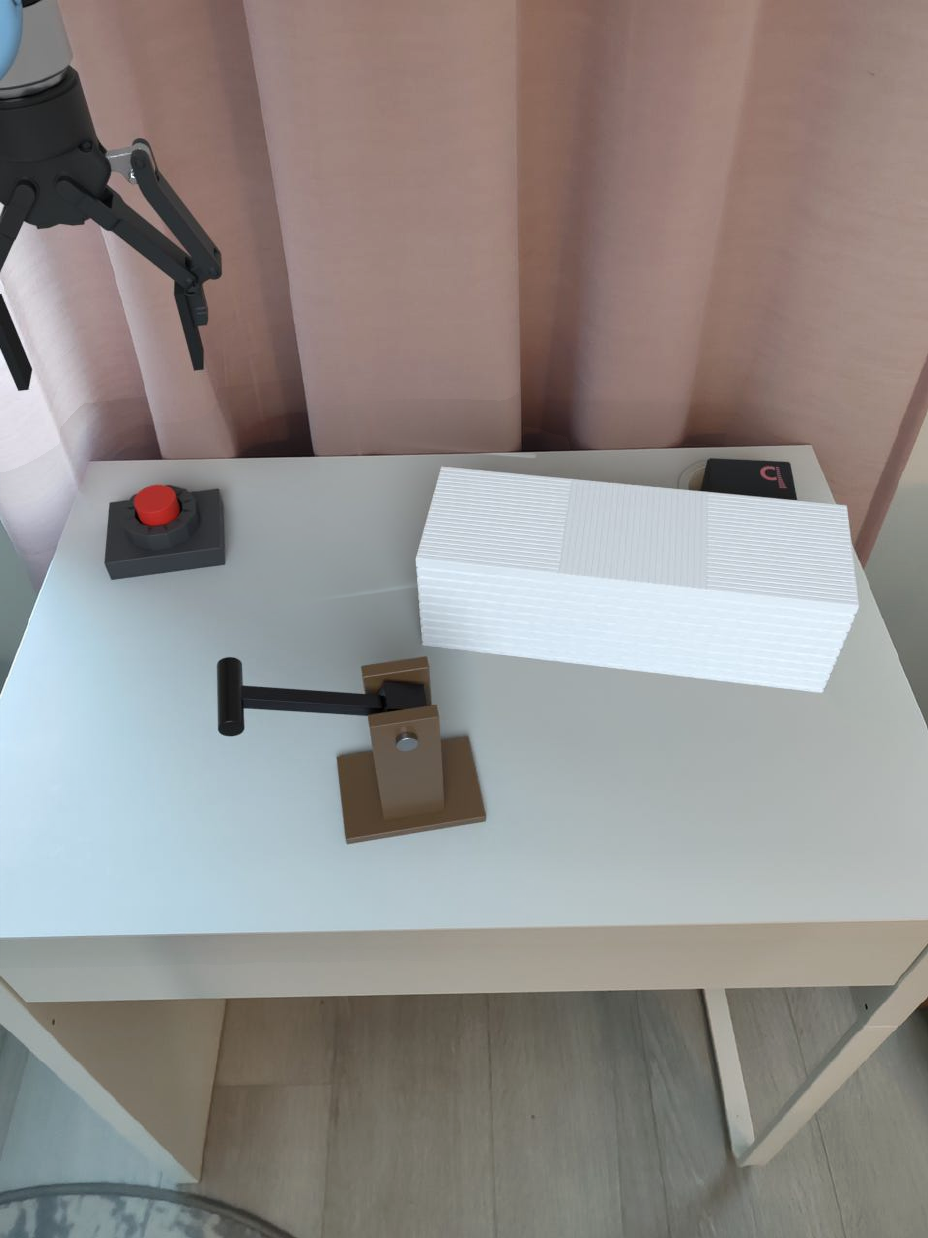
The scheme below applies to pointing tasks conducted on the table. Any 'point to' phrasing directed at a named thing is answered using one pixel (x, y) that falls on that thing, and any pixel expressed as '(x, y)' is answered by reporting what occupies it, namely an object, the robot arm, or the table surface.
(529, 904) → the table surface
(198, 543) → the control block
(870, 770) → the table surface
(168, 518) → the button
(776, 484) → the electronic device
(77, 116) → the robot arm
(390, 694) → the lever
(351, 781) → the bracket
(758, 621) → the stack of papers
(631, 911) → the table surface
